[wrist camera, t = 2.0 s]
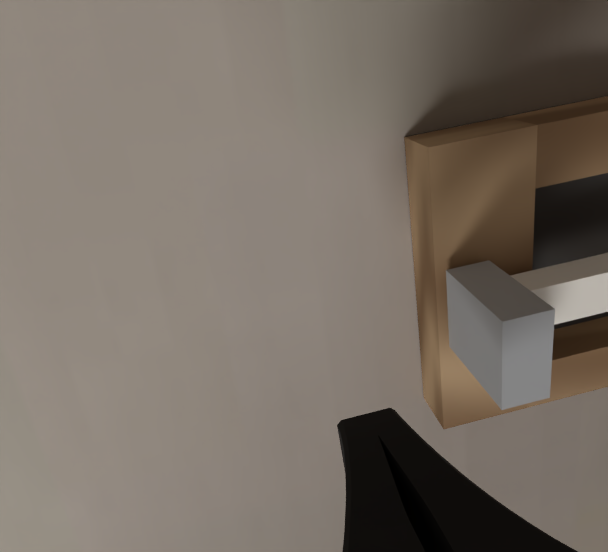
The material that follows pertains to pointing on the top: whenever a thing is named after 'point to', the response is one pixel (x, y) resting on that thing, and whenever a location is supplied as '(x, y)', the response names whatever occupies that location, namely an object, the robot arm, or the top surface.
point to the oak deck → (508, 235)
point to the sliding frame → (519, 321)
